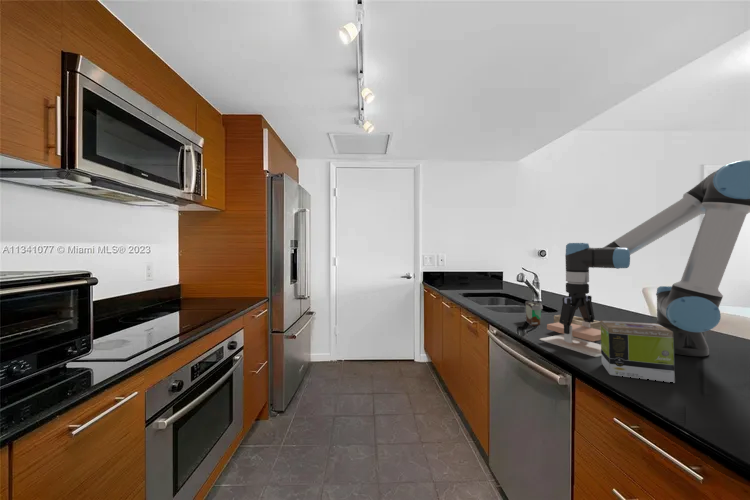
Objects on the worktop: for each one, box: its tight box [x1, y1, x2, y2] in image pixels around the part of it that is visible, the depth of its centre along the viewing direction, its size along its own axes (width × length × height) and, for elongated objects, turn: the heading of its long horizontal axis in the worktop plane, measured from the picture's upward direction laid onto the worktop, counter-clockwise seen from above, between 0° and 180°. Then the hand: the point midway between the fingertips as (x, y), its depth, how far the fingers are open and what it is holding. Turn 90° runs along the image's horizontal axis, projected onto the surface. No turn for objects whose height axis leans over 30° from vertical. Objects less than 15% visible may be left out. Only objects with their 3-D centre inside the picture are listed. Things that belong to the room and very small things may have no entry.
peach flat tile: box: [546, 322, 601, 343], centre depth 119 cm, size 18×10×3 cm, turn 24°
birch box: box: [553, 314, 601, 333], centre depth 132 cm, size 16×7×7 cm, turn 24°
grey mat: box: [539, 333, 601, 358], centre depth 119 cm, size 22×14×1 cm, turn 24°
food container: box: [525, 300, 544, 327], centre depth 152 cm, size 12×6×10 cm, turn 168°
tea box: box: [600, 320, 676, 384], centre depth 93 cm, size 15×10×15 cm, turn 65°
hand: (577, 340), depth 119 cm, fingers closed on peach flat tile, 10 cm apart
